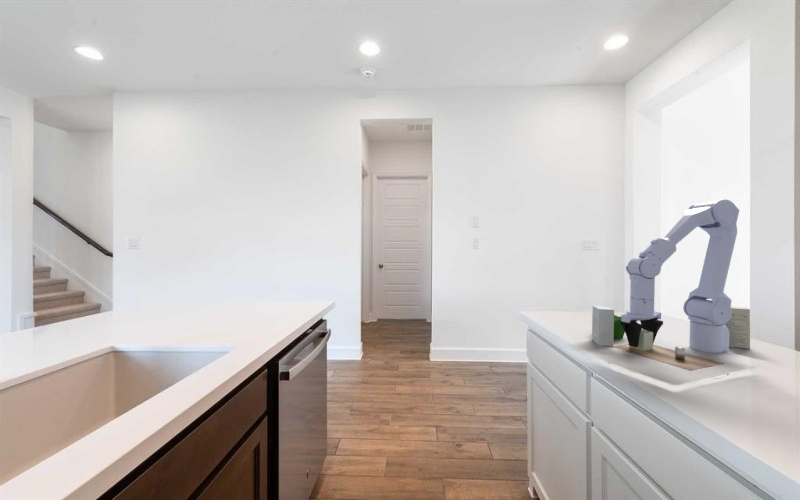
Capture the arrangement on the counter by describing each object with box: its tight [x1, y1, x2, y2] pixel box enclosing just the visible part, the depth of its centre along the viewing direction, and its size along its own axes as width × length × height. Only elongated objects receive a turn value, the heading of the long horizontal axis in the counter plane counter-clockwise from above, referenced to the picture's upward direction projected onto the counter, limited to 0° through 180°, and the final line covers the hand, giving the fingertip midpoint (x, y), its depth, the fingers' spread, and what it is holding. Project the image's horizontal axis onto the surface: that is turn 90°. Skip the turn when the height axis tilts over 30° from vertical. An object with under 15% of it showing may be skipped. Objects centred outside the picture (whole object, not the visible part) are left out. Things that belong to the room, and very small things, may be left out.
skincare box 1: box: [591, 305, 615, 347], centre depth 104 cm, size 6×4×12 cm
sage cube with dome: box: [629, 329, 654, 351], centre depth 98 cm, size 4×4×5 cm
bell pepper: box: [614, 314, 626, 340], centre depth 111 cm, size 8×8×10 cm
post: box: [674, 346, 686, 360], centre depth 89 cm, size 2×2×3 cm
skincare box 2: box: [725, 306, 751, 350], centre depth 105 cm, size 6×4×12 cm
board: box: [611, 343, 724, 371], centre depth 93 cm, size 14×20×1 cm
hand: (641, 345), depth 98 cm, fingers open, 6 cm apart
